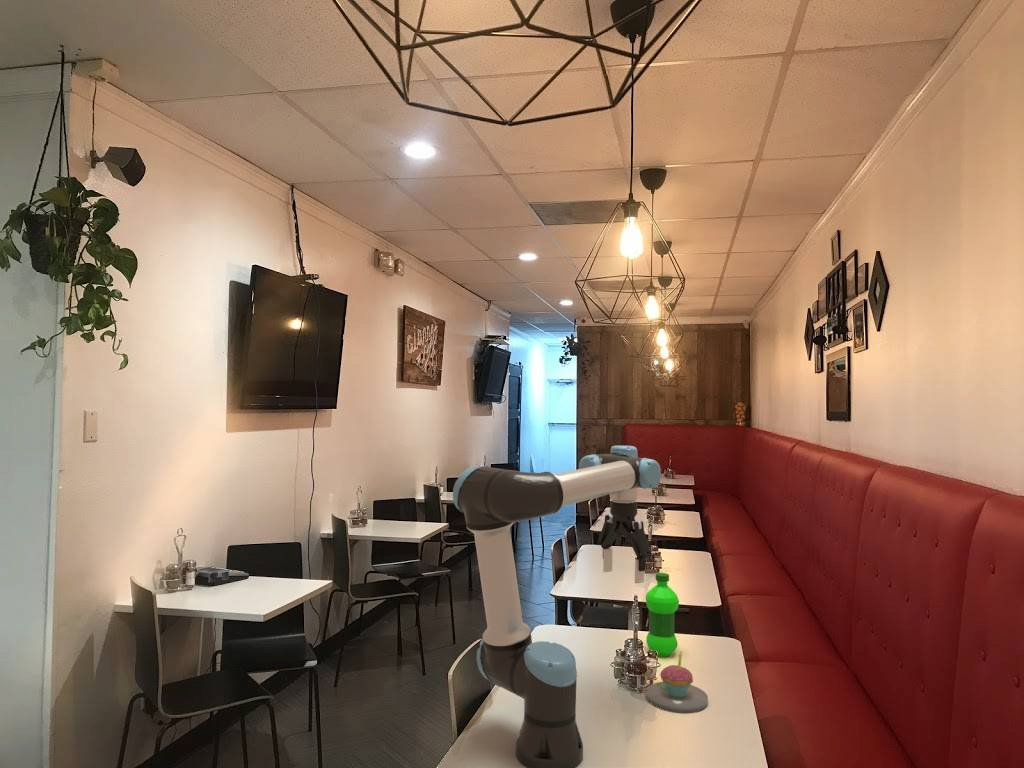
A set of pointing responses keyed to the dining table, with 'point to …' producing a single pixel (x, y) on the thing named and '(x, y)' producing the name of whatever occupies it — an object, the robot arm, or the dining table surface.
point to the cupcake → (677, 679)
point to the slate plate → (677, 699)
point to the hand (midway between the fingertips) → (623, 577)
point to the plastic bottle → (662, 616)
